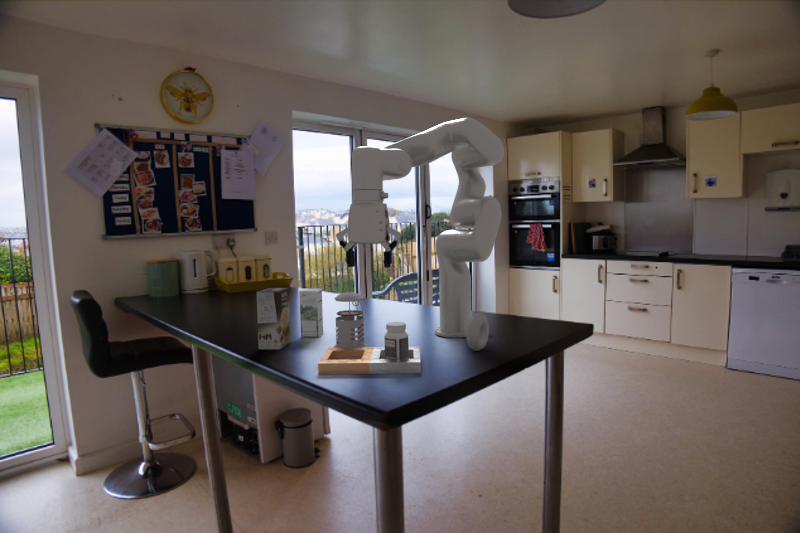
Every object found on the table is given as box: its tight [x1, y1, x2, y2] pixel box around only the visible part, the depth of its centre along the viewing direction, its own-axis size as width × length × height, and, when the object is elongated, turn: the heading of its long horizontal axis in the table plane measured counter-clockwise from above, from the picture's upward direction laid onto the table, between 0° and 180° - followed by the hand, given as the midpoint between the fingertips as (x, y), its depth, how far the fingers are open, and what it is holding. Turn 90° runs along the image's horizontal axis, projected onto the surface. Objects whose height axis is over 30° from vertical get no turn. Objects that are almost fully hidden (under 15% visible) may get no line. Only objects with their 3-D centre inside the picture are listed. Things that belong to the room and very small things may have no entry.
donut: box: [465, 312, 490, 352], centre depth 124 cm, size 10×3×10 cm, turn 148°
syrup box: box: [298, 287, 324, 338], centre depth 145 cm, size 6×6×14 cm
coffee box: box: [255, 287, 292, 350], centre depth 133 cm, size 9×6×16 cm
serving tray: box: [317, 346, 422, 375], centre depth 113 cm, size 23×14×2 cm, turn 89°
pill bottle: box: [383, 321, 410, 359], centre depth 112 cm, size 6×6×10 cm
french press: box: [332, 257, 369, 348], centre depth 130 cm, size 10×12×25 cm
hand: (369, 267), depth 118 cm, fingers open, 9 cm apart
